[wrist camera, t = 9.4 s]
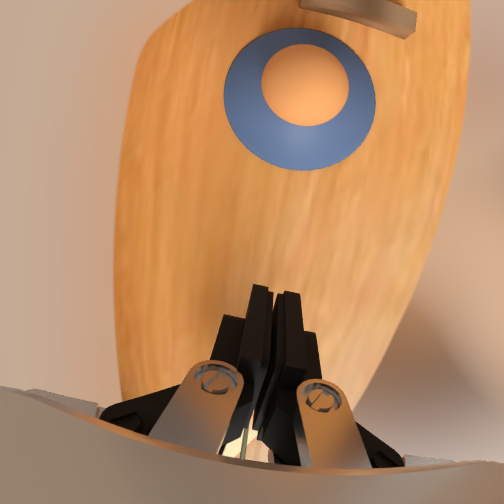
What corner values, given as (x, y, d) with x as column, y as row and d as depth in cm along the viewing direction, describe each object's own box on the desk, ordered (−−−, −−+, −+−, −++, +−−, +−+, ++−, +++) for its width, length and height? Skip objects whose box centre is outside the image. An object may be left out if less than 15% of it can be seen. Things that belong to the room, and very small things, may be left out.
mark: (259, 191, 25) (259, 192, 25) (201, 60, 21) (201, 60, 21) (394, 144, 22) (395, 144, 22) (339, 13, 18) (339, 12, 18)
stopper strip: (299, 7, 19) (301, -5, 16) (303, -11, 18) (305, -23, 16) (404, 39, 19) (415, 31, 16) (406, 21, 18) (416, 12, 15)
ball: (300, 16, 14) (301, 40, 20) (235, 82, 17) (250, 91, 22) (375, 81, 15) (358, 90, 21) (309, 146, 18) (307, 141, 23)
